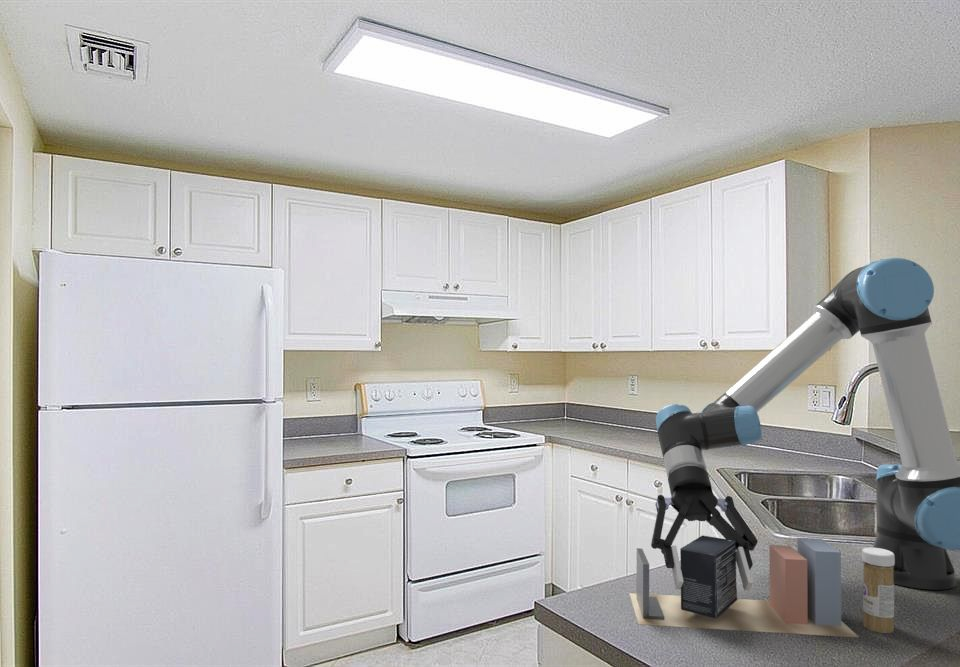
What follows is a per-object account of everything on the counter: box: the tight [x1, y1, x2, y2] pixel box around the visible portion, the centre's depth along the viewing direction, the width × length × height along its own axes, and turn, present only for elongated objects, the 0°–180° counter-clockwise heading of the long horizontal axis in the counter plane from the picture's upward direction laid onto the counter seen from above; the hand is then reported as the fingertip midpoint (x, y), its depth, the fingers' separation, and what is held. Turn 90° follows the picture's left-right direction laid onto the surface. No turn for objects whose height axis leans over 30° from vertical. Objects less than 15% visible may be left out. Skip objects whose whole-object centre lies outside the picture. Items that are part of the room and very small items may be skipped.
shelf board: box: [628, 592, 859, 638], centre depth 111 cm, size 34×14×1 cm, turn 83°
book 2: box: [796, 537, 842, 626], centre depth 111 cm, size 4×8×12 cm, turn 173°
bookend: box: [636, 548, 664, 620], centre depth 113 cm, size 4×9×9 cm, turn 173°
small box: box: [679, 535, 738, 619], centre depth 112 cm, size 11×6×10 cm, turn 141°
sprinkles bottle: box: [861, 546, 895, 634], centre depth 106 cm, size 5×5×13 cm
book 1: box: [768, 544, 808, 624], centre depth 111 cm, size 4×8×10 cm, turn 173°
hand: (714, 586), depth 109 cm, fingers closed on small box, 11 cm apart
